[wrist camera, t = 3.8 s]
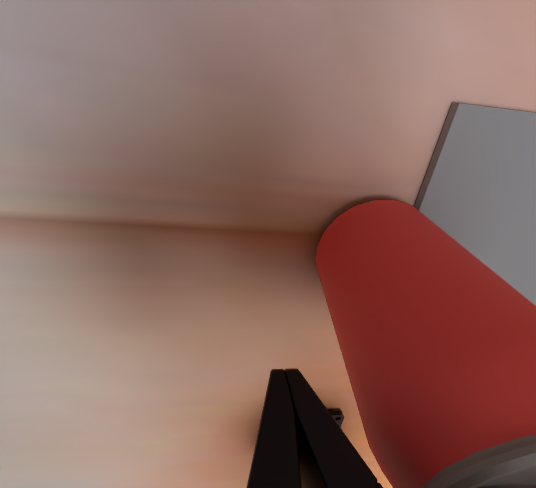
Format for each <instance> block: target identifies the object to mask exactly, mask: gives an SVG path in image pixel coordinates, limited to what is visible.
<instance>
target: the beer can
mask: <svg viewBox="0 0 536 488" xmlns="http://www.w3.org/2000/svg"><path fill="white" fill-rule="evenodd" d="M316 267H317V270H318V274H319V277H320V281H321V284H322V287H323V291H324V294H325V298H326V301H327V304H328V308H329V311H330V315H331V318H332V321H333V325H334V328H335V332H336V335H337V338H338V342H339V345H340V349H341V352H342V355H343V359H344V362H345V366H346V369H347V372H348V376H349V379H350V382H351V386H352V389H353V393H354V396H355V399H356V403H357V406H358V410H359V413H360V416H361V420H362V423H363V427H364V430H365V433H366V437H367V440H368V444H369V446H370V448H371V450H372V452H373V454H374V456H375V458H376V460H377V462H378V464H379V466H380V468H381V470H382V472H383V473H384V475H385V476H386V478H387V479H388V480H389V482H390V483H391V485H392V486H393V488H536V306H535V305H534V304H533V303H532V302H530V301H529V300H528V299H527V298H526V297H524V296H523V295H522V294H521V293H519V292H518V291H517V290H516V289H514V288H513V287H512V286H511V285H510V284H508V283H507V282H506V281H505V280H503V279H502V278H501V277H500V276H499V275H497V274H496V273H495V272H494V271H492V270H491V269H490V268H489V267H487V266H486V265H485V264H484V263H483V262H481V261H480V260H479V259H478V258H476V257H475V256H474V255H473V254H471V253H470V252H469V251H468V250H467V249H465V248H464V247H463V246H462V245H460V244H459V243H458V242H457V241H456V240H454V239H453V238H452V237H451V236H449V235H448V234H447V233H446V232H444V231H443V230H442V229H441V228H440V227H438V226H437V225H436V224H435V223H433V222H432V221H431V220H430V219H429V218H427V217H426V216H425V215H424V214H422V213H421V212H420V211H419V210H417V209H416V208H415V207H414V206H412V205H409V204H406V203H403V202H400V201H397V200H373V201H370V202H367V203H363V204H360V205H356V206H354V207H352V208H351V209H349V210H347V211H346V212H344V213H343V214H341V215H339V216H338V217H337V218H336V219H335V220H334V221H333V222H332V223H331V224H330V226H329V227H328V228H327V229H326V230H325V231H324V233H323V236H322V238H321V240H320V242H319V244H318V246H317V252H316Z"/></svg>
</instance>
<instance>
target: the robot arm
mask: <svg viewBox="0 0 536 488" xmlns="http://www.w3.org/2000/svg"><path fill="white" fill-rule="evenodd" d="M343 419H344V416H343V413H342V411H328V410H327V409H326V407H325V406H324V405H323V403H322V402H321V400H320V399H319V398H318V396H317V395H316V393H315V392H314V391H313V389H312V388H311V386H310V385H309V384H308V382H307V381H306V379H305V378H304V377H303V375H302V374H301V372H300V371H299V370H298V369H285V370H283V369H272V370H271V372H270V377H269V382H268V387H267V392H266V397H265V401H264V406H263V411H262V416H261V421H260V426H259V431H258V435H257V440H256V445H255V450H254V455H253V460H252V464H251V469H250V474H249V479H248V484H247V488H383V487H382V485H381V484H380V483H377V479H376V477H375V476H374V474H373V473H372V472H371V470H370V469H369V467H368V466H367V465H366V463H365V462H364V461H363V459H362V458H361V456H360V455H359V454H358V452H357V451H356V449H355V448H354V447H353V445H352V444H351V442H350V441H349V440H348V438H347V437H346V435H345V434H344V433H343V431H342V430H341V428H340V427H341V424H342V422H343Z"/></svg>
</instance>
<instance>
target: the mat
mask: <svg viewBox="0 0 536 488" xmlns="http://www.w3.org/2000/svg"><path fill="white" fill-rule="evenodd" d="M414 207H415V208H416V209H417V210H419V211H420V212H421V213H422V214H424V215H425V216H426V217H427V218H429V219H430V220H431V221H432V222H433V223H435V224H436V225H437V226H438V227H440V228H441V229H442V230H443V231H444V232H446V233H447V234H448V235H449V236H451V237H452V238H453V239H454V240H456V241H457V242H458V243H459V244H460V245H462V246H463V247H464V248H465V249H467V250H468V251H469V252H470V253H471V254H473V255H474V256H475V257H476V258H478V259H479V260H480V261H481V262H483V263H484V264H485V265H486V266H487V267H489V268H490V269H491V270H492V271H494V272H495V273H496V274H497V275H499V276H500V277H501V278H502V279H503V280H505V281H506V282H507V283H508V284H510V285H511V286H512V287H513V288H514V289H516V290H517V291H518V292H519V293H521V294H522V295H523V296H524V297H526V298H527V299H528V300H529V301H530V302H532V303H533V304H534V305H535V306H536V113H534V112H526V111H518V110H510V109H502V108H494V107H486V106H478V105H470V104H462V103H452V105H451V108H450V110H449V113H448V116H447V118H446V121H445V124H444V127H443V129H442V132H441V135H440V137H439V140H438V143H437V146H436V148H435V151H434V154H433V156H432V159H431V162H430V165H429V167H428V170H427V173H426V176H425V178H424V181H423V184H422V186H421V189H420V192H419V195H418V197H417V200H416V203H415V205H414Z"/></svg>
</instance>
